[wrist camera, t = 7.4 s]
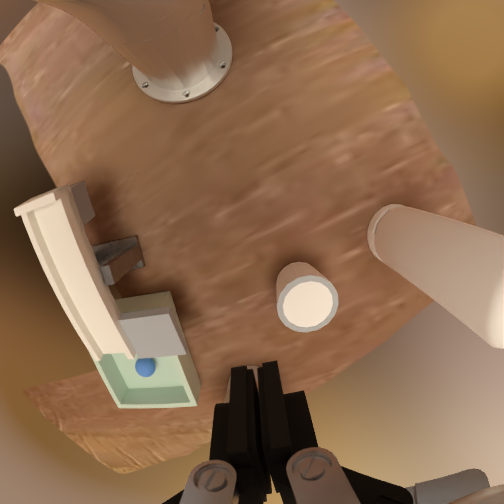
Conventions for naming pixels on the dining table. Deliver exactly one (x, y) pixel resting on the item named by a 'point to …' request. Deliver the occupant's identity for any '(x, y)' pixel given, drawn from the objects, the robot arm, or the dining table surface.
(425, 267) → the bottle
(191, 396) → the bin
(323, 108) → the dining table surface
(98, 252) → the lever stand
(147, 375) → the ball
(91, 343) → the lever
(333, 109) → the dining table surface
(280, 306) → the shot glass
